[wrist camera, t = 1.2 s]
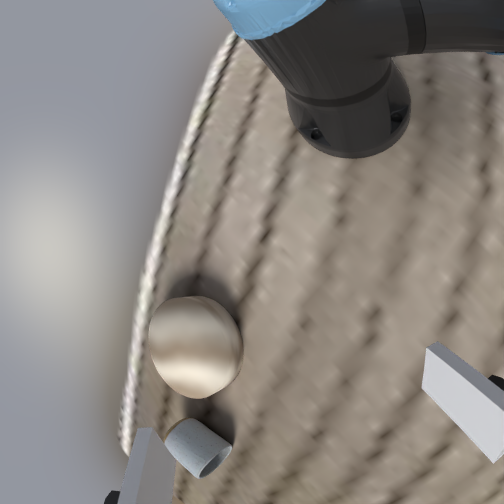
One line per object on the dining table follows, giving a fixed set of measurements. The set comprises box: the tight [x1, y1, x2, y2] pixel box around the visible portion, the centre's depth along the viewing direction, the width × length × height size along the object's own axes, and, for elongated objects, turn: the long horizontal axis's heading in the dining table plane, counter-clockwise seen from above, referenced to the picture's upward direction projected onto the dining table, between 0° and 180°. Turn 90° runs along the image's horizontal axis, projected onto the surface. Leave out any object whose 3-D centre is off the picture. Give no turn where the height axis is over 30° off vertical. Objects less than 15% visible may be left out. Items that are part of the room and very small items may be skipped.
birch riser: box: [149, 296, 244, 399], centre depth 36 cm, size 14×14×4 cm
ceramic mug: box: [163, 418, 232, 479], centre depth 33 cm, size 11×8×8 cm
